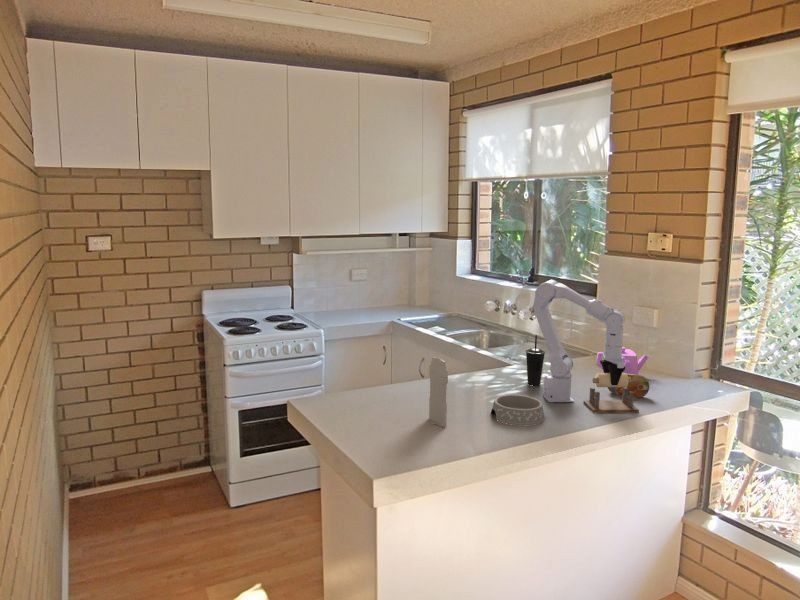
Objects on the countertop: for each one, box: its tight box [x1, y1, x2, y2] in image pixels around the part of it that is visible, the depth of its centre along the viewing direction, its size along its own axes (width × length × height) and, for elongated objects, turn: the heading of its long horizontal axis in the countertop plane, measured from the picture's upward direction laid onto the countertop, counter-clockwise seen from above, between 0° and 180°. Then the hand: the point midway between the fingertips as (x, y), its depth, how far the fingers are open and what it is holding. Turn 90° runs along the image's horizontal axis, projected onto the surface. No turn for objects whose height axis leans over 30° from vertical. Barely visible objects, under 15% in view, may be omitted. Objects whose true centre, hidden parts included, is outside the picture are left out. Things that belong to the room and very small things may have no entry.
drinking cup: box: [525, 334, 546, 387], centre depth 243 cm, size 8×8×20 cm
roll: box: [591, 372, 631, 388], centre depth 218 cm, size 13×5×5 cm, turn 93°
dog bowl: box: [490, 394, 546, 427], centre depth 209 cm, size 17×18×5 cm
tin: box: [607, 374, 650, 399], centre depth 232 cm, size 15×3×8 cm, turn 62°
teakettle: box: [595, 346, 650, 375], centre depth 257 cm, size 17×17×12 cm
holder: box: [583, 387, 640, 414], centre depth 218 cm, size 16×10×6 cm, turn 93°
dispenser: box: [428, 356, 449, 428], centre depth 200 cm, size 11×4×22 cm, turn 28°
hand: (611, 382), depth 218 cm, fingers closed on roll, 5 cm apart
